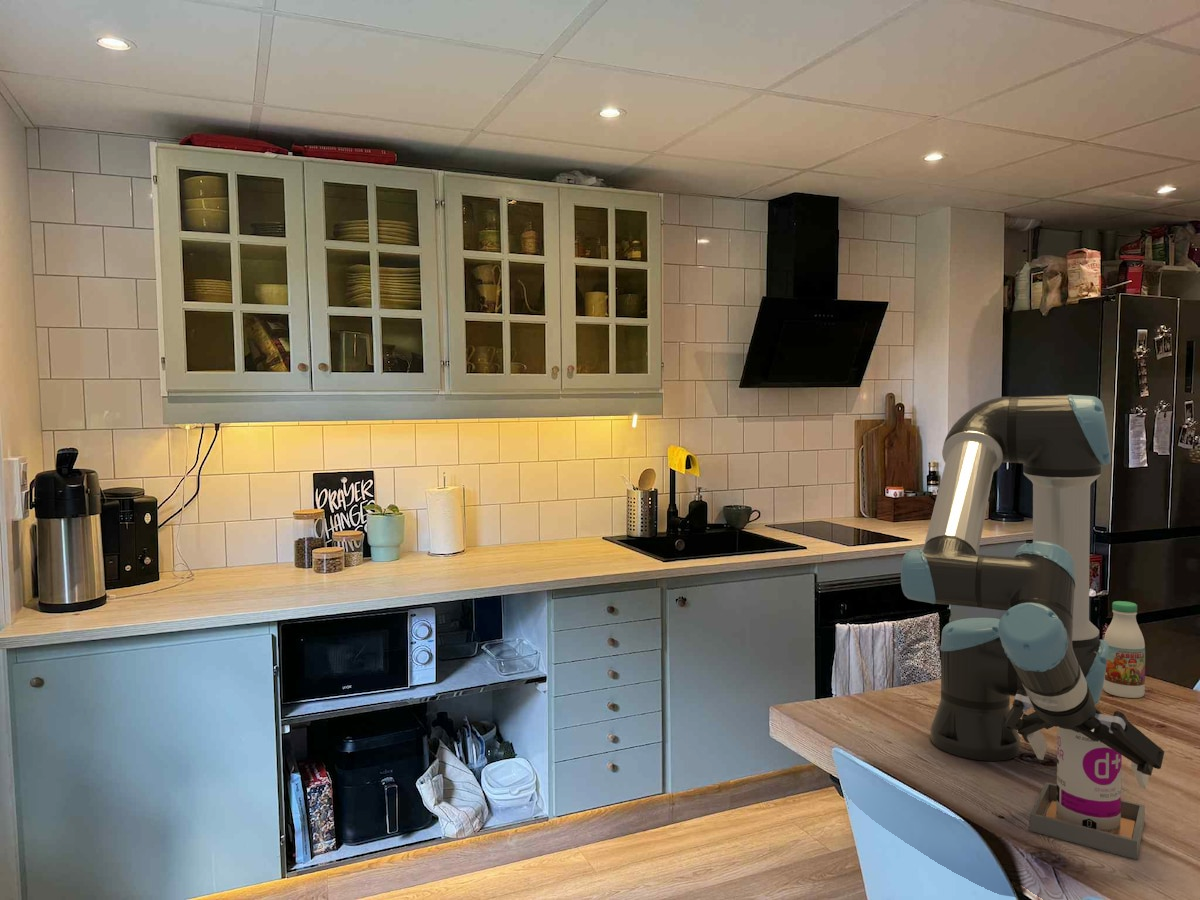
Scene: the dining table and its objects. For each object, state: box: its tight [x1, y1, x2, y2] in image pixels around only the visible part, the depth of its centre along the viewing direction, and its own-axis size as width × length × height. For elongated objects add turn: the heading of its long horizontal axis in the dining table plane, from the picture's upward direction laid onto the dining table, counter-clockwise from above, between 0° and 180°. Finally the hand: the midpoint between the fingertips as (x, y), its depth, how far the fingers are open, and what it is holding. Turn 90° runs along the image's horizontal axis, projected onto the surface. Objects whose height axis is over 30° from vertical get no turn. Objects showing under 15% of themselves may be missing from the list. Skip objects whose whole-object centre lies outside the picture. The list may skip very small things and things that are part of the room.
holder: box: [1029, 781, 1146, 860], centre depth 121 cm, size 13×13×2 cm
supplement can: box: [1056, 727, 1123, 834], centre depth 120 cm, size 8×8×15 cm
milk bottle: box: [1102, 600, 1146, 699], centre depth 178 cm, size 8×8×20 cm
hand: (1091, 765), depth 121 cm, fingers open, 13 cm apart
